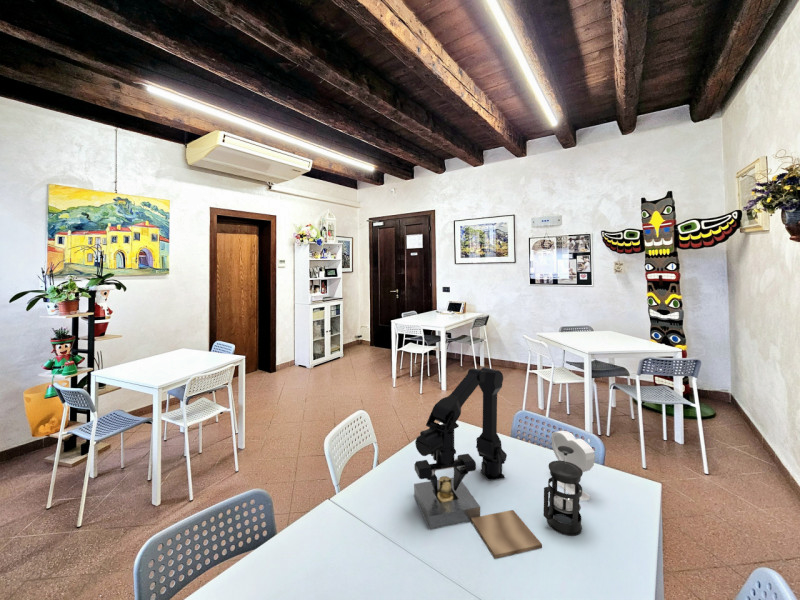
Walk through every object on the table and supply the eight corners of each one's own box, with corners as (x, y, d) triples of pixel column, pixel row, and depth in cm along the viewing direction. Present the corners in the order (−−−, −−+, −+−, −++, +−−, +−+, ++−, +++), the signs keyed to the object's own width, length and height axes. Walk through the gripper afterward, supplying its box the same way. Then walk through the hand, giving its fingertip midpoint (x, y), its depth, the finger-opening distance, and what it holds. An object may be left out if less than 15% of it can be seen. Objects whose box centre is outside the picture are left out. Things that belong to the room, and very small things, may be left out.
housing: (458, 487, 119) (458, 476, 119) (480, 519, 103) (480, 506, 103) (414, 495, 115) (414, 483, 115) (429, 529, 100) (429, 516, 99)
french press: (568, 510, 107) (570, 438, 105) (591, 532, 98) (594, 453, 96) (535, 516, 104) (536, 443, 102) (556, 540, 95) (557, 459, 93)
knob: (449, 500, 112) (449, 474, 112) (455, 510, 107) (455, 483, 107) (435, 503, 111) (435, 476, 110) (440, 513, 106) (440, 485, 106)
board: (512, 512, 106) (512, 509, 106) (542, 547, 92) (542, 544, 92) (471, 521, 103) (471, 518, 103) (494, 558, 89) (494, 555, 89)
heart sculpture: (548, 476, 125) (549, 428, 123) (560, 474, 126) (561, 426, 125) (583, 503, 110) (584, 449, 109) (595, 500, 111) (597, 446, 110)
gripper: (462, 429, 118) (462, 473, 119) (409, 436, 113) (410, 481, 114) (477, 444, 107) (476, 492, 108) (419, 453, 102) (420, 503, 104)
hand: (445, 491), depth 109 cm, fingers open, 6 cm apart
